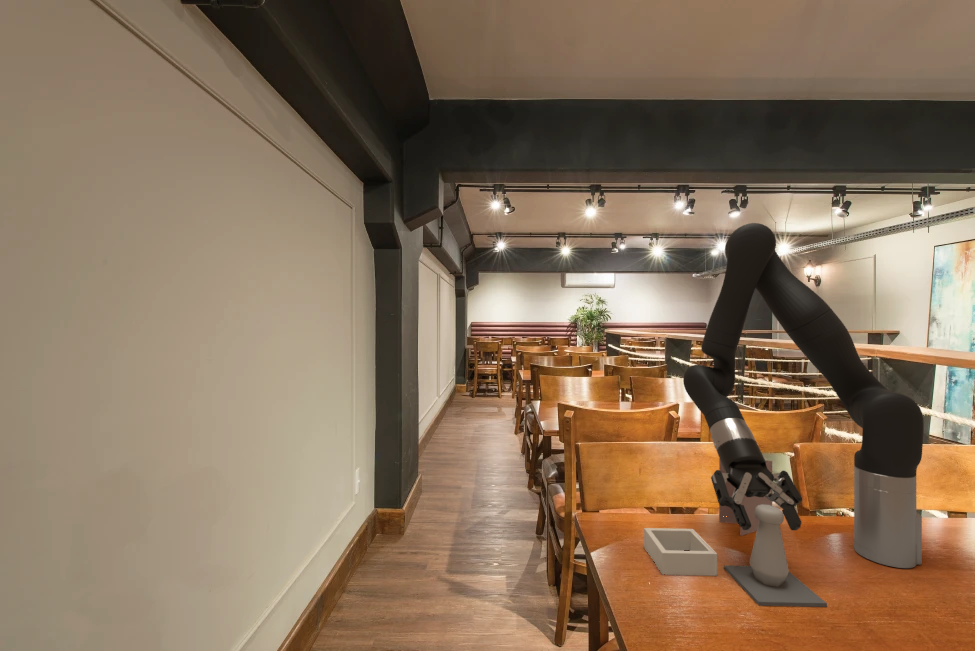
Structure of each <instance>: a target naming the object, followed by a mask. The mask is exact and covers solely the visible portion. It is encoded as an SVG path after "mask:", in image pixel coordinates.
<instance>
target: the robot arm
mask: <svg viewBox="0 0 975 651" xmlns="http://www.w3.org/2000/svg"><path fill="white" fill-rule="evenodd" d="M776 248H777V239H776V236H775V233H774V232H773V231H772V229H771V228H769V226H767V225H764V224H762V223H756V222H752V223H747V224H743V225H742V226H739V227H738V228H736V229H735V230H734V231H733V232H731V234H730V235H729V237H728V238H727V240H726V242H725V247H724V252H725V253H724V254H725V256H726V259H727V260H726V268H725V274H724V279H723V283H722V285H721V289H720V292H719V294H718V297H717V299H716V302H715V305H714V307H713V309H712V312H711V313H710V314H711V315H710V316H709V320H708V323H707V325H706V329H705V333H704V337H703V340H702V343H701V348H700V349H701V352H702V353H703V354H705V355H706V356H708V357H711V358H712V360H713V361H712V362H713V367H712V366H707V365H702V364H694V365H693V364H692V365H691V366H689V367H688V368H686V370H685V371H684V374H683V378H682V380H683V386H684V389H685V392H686V394H687V395H688V396H689V398H690V399H691V400H692V402H693V403H694V405H695V406H696V407H697V409H698V410H699V412H701V414H703V416H704V419H705V421H706V424H707V426H708V429H709V431H710V434H711V439H712V443H713V445H714V446H713V447H714V449H715V450H716V453H717V455H718V459H719V458H720V460H721V463H722V466H723V468H724V470H725V472H726V473H722V472H721V471H719V469H716V470H715V471H714V472H713V473H712V475H711V476H710V480H711V482H712V486H713V489H714V494H715V496H716V500H717V502H718V505H719V504H720V505H721V506H728V507H730V508H731V509H732V510H733V513H734V516H735V518H736V521H737V523H738V524H737V523H736V524H737V526H739V527H740V526H741V527H742V529H743V530H748V529H749V528H750V527H751V522H750V520H749V517H748V515H747V513H746V510H745V508H744V505H741V502H742V499H743V497H744V495H745V496H746V497H753V496H756V497H764V496H765V497H766V498H767V499H769V500H770V501H772V503H773V502H774V503H775V504H776V505H777V506H778V507H780V508H781V511H782V512H783V515H784V519H785V520H786V522H787V524H788V527H789V529H790V530H791V531H798V530H799V529H800V528H801V525H802V520H801V518H800V516H799V513H798V512H797V509H796V508H795V507H797V505H799V504H800V503H801V502H802V501H803V497H802V495H801V494H800V492H799V490H798V488H797V487H796V485H795V483H794V481H793V480H792V478H791V476H790V475H789V472H788V471H786V470H781V472H777V473H775V472H774V473H773V472H772V473H771V472H770V471H769V470H768V469H767V466H766V462H765V460H766V459H765V457H764V455H763V453H762V450H761V449H760V447H759V445H758V444H759V443H758V442H757V440H756V438H755V436H754V433H753V431H752V430H751V428H750V427H749V425H748V424H747V423H746V420H745V418H744V416H743V414H742V412H741V410H740V408H739V406H738V404H737V403H736V401H734V400H733V399H731V398H730V397H729V396H730V395H731V393H732V392H733V390H734V388H735V386H736V385H735V384H736V354H737V353H736V352H737V349H738V347H739V343H740V340H741V336H742V333H743V330H744V327H745V323H746V320H747V315H748V312H749V308H750V305H751V301H752V298H753V295H754V294H755V293H754V292H755V289H756V291H758V293H759V294H760V297H762V299H763V301H764V302H765V304H766V306H767V308H768V309H769V310H770V311H771V313H772V315H773V316H774V318H775V319H776V320H777V322H778V323H779V325H780V326H781V327H782V329H783V330H784V332H785V333H786V334H787V335H788V337H789V338H790V339H791V341H792V342H793V343H794V345H795V346H796V347H797V348H798V349H799V350H800V351H801V353H802V354H803V355H804V356H805V357H806V358H807V359H808V361H810V363H811V364H812V365H813V366H814V367H815V368H816V370H818V371H819V373H820V374H821V375H822V376H823V377H824V378H825V379H826V381H827V382H828V383H829V385H830V386H831V387H832V389H833V391H834V392H835V394H836V396H837V397H838V398H839V400H840V402H841V404H842V405H843V407H844V409H845V410H846V412H847V413H848V415H849V416H850V418H851V419H852V421H853V422H854V423H855V424H856V425H857V426H859V427H860V428H862V431H861V432H862V433H861V434H862V435H861V437H862V438H861V446H860V449H859V450H856V451H855V453H854V458H853V463H854V464H853V470H854V471H853V478H854V479H853V480H854V484H853V486H854V488H853V490H854V491H853V496H854V498H853V502H854V504H853V506H854V508H853V509H854V510H853V526H854V527H853V550H854V551H855V552H856V553H857V554H859V555H860V556H861V557H863V558H864V559H868V561H869V560H870V561H872V562H875V563H878V564H880V565H883V566H887V567H888V566H889V567H894V568H898V569H912V568H916V566H917V565H922V564H923V563H922V560H923V559H922V558H923V557H922V556H923V555H922V554H923V546H922V545H923V541H922V540H923V538H922V536H923V526H922V524H923V516H922V515H921V514H920V513H919V512H917V472H918V466H920V463H921V461H922V457H923V447H924V446H923V445H924V418H923V417H924V416H923V411H922V410H921V408H920V406H919V404H918V403H917V402H916V401H915V400H914V399H913V398H911V397H909V396H908V395H905V394H903V393H899V392H896V391H891V390H890V389H888V388H887V387H886V386H884V385H883V384H882V383H881V382H880V381H879V380H878V379H877V378H876V377H875V376H874V374H873V373H872V372H871V371H870V370H869V369H868V368H867V366H866V365H865V363H863V362H864V361H862V359H861V357H860V356H859V354H858V351H857V348H856V345H855V343H854V341H853V339H852V336H851V334H850V331H848V329H847V327H846V326H845V324H844V322H843V321H842V320H841V319H840V318H839V316H838V315H837V314H836V313H835V311H834V310H833V309H832V308H831V307H830V305H829V304H828V303H827V302H826V301H825V300H824V299H823V298H822V297H820V295H818V294H817V292H815V291H814V290H813V289H811V288H810V287H809V286H807V284H806V283H804V282H802V281H801V280H800V279H799V278H798V277H797V276H795V275H794V274H793V272H792V271H790V269H789V268H788V267H787V266H786V265H785V263H784V262H783V260H782V259H781V257H780V255H779V254H778V253H777V251H776ZM727 481H728V482H729V483H730V484H731V485H732V486H734V487H735V490H734V493H733V495H732V497H730V496H729V493H728V490H727V487H726V484H725V483H726V482H727ZM770 490H772V493H771V492H770Z"/></svg>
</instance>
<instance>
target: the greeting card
mask: <svg viewBox="0 0 975 651" xmlns="http://www.w3.org/2000/svg"><path fill="white" fill-rule="evenodd" d="M718 459H719V461H718V462H719V466H718V467H719V468H718V470H719V471H721V472H722V473H726V472H725V470H724V468H723V466H722V463H721V460H720V458H719V457H718ZM765 462H766V466H767V469H768V470H769V471H770V472H771V473H773V460H766V459H765ZM725 484H726V487H727V490H728V493H729V496H730V497H732V495H733V493H734V490H735V487H734V486H732V485H731V484H730V483H729V482H728V481H727V482H726V483H725ZM770 492H771V493H773V490H770ZM761 504H764V505H771V506H773V502H772V501H770V500H769V499H767V498H766V497H765V496H764V497H756V496H753V497H746V496H745V495H744V497H743V499H742V502H741V505H744V508H745V510H746V513H747V515H748V517H749V520H750V522H751V527H750V528H749V529H748V530H743V529H742V527H741V526H739V527H740V528H739V529H740V530H739V532H740V537H742V536H746V535H749V534H751V533H755V532H757V528H758V523H759V520H758V519H757V518H756V516H755V508H756V507H757V506H758V505H761ZM718 506H719V507H718V513H719V514H718V516H719V517H718V519H719V520H718V522H719V523H722V522H723V523H727V524H737V525H738V523H737V521H736V518H735V516H734V513H733V510H732V509H731V508H730V507H728V506H721V505H720V504H719V503H718ZM723 516H724V517H723ZM726 516H727V517H726ZM723 523H722V524H723Z"/></svg>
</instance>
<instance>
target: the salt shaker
mask: <svg viewBox="0 0 975 651" xmlns="http://www.w3.org/2000/svg"><path fill="white" fill-rule="evenodd" d="M755 516H756V518H757V519H758V520H759V523H758V528H757V531H756V533H755V536H754V537H755V538H754V540H753V545H752V546H753V547H752V550H751V554H750V557H749V566H751V568H752V570H753V573H754V575H755V578H756V580H758V581H760V582H761V583H763V584H765V585H769V586H774V587H779V586H780V585H781V584H783V582H784V580H785V579H786V577H787V575H788V573H789V572H790V570H789V565H788V561H787V560H788V559H787V554H786V550H785V545H784V540H783V535H782V530H781V525H782V524H783V523H784V520H785V516H784V514H783V512H782V509H780V508H779V507H777V506H774V505H772V506H771V505H764V504H761V505H758V506H757V507H756V508H755Z"/></svg>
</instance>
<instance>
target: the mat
mask: <svg viewBox="0 0 975 651" xmlns="http://www.w3.org/2000/svg"><path fill="white" fill-rule="evenodd" d="M723 569H724V571H726V572H727V573H728V575H729V576H730V577H732V579H733V580H734V581H735V582H736V583H737V584H738V585H739V586H740V588H742V589H743V590H744V592H746V594H747V595H748V596H749V597H750V598H751V599H752V600H753V601H754V602H755V604H757V605H758V606H760V607H761V606H765V607H766V606H769V607H771V606H772V607H812V608H815V607H816V608H821V607H823V608H827V607H828V603H827V602H826V601H825V600H824V599H822V598H821V597H820V596H819V595H818V594H816V593H815V592H814V591H813V590H812V589H811V588H810V587H808V586H807V585H806V584H804V583H803V582H802V580H800V579H799V578H797V577H796V576H795V575H794V574H793V573H791V571H789V573H788V575H787V577H786V579H785V580H784V582H783V584H781V585H780V586H779V587H774V586H769V585H765V584H763V583H761V582H760V581H758V580H756V578H755V575H754V573H753V570H752V568H751V566H750V565H723Z"/></svg>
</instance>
